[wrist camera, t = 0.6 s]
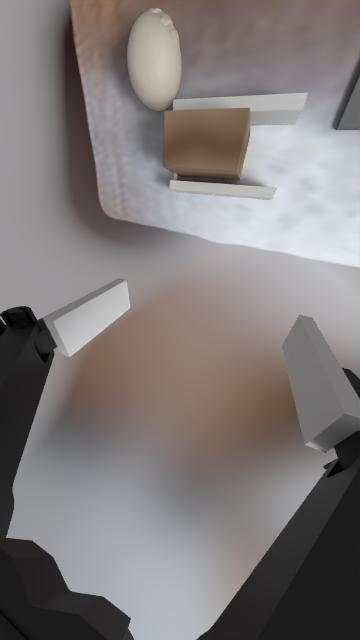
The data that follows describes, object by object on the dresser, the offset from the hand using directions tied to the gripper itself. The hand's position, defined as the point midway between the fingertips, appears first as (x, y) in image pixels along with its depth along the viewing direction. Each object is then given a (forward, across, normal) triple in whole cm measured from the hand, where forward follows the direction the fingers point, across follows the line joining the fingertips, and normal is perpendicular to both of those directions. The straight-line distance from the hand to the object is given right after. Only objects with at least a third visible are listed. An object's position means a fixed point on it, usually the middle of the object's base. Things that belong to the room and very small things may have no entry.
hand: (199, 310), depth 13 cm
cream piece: (+25, -14, +21) cm, 36 cm away
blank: (+25, -6, +13) cm, 29 cm away
